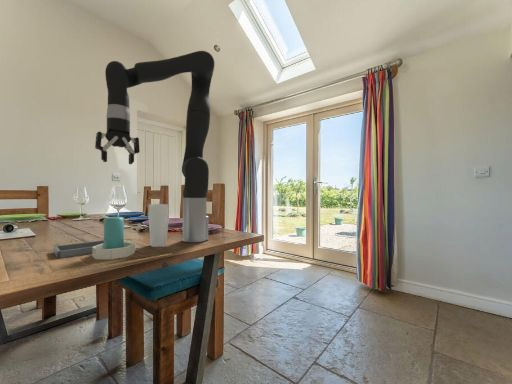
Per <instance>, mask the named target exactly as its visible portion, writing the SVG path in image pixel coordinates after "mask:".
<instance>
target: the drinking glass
mask: <svg viewBox="0 0 512 384" xmlns="http://www.w3.org/2000/svg"><path fill="white" fill-rule="evenodd" d="M169 205H170V204H168V203H152V204H150V203H149V204H148V209H147V210H148V212H147V213H148V215H147V217H148V224H149V225H148V227H149V229H148V230H149V241H150V243H149V244H150V247H153V248H157V247H158V248H160V247H162V248H165V247H166V246H167V243H168V242H167V241H168V238H167V237H168V229H169V218H170V217H169V216H170V207H169Z"/></svg>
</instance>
